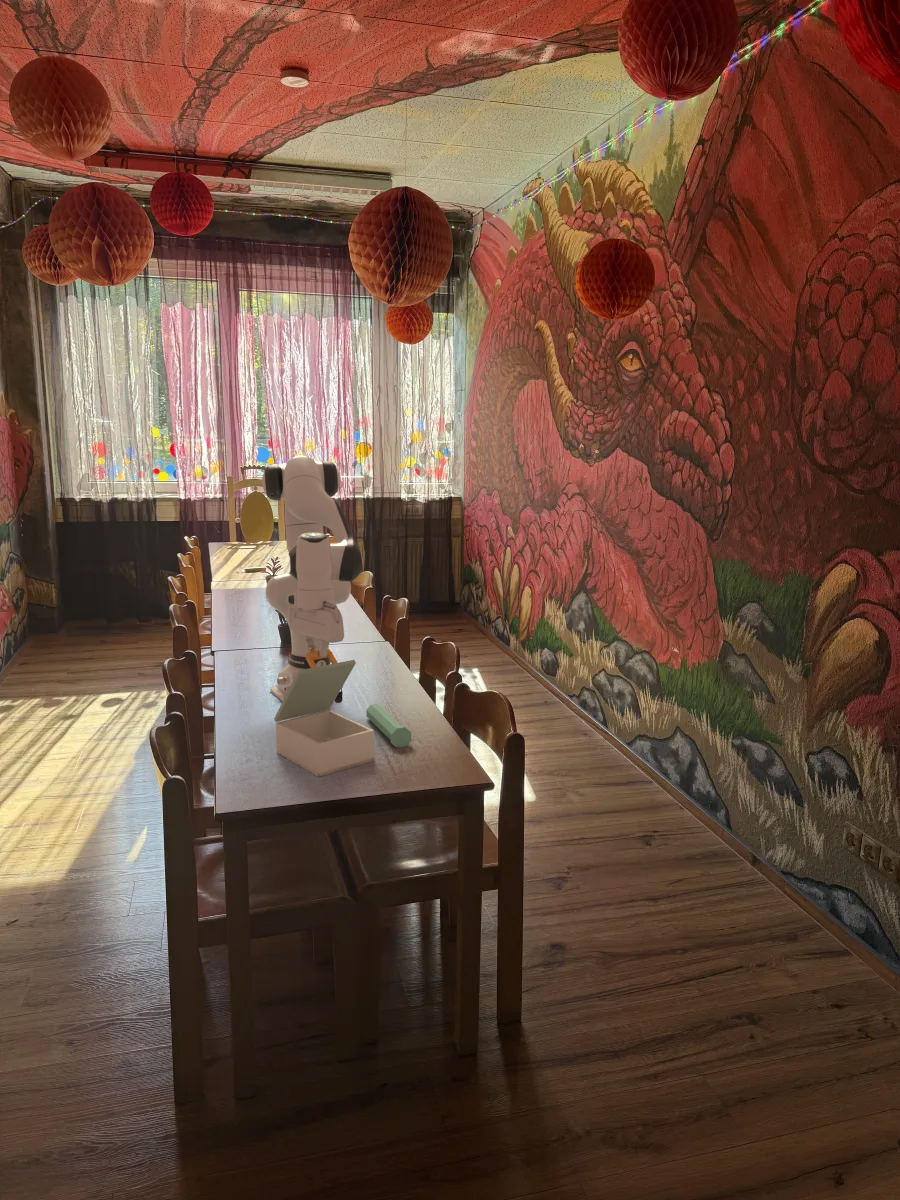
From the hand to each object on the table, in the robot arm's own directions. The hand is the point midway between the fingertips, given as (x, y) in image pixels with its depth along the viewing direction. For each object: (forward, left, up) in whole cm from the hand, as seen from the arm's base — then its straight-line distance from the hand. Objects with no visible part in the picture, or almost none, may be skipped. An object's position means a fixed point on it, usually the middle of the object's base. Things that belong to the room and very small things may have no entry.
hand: (316, 654), depth 213 cm
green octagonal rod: (-2, +23, -26) cm, 35 cm away
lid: (-1, 0, -10) cm, 10 cm away
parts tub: (+3, 0, -26) cm, 26 cm away
